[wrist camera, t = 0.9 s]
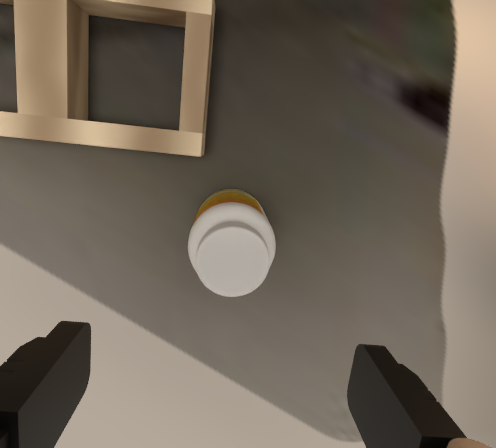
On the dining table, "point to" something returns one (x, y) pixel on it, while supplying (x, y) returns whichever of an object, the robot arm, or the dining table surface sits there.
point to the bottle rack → (76, 73)
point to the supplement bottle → (231, 243)
